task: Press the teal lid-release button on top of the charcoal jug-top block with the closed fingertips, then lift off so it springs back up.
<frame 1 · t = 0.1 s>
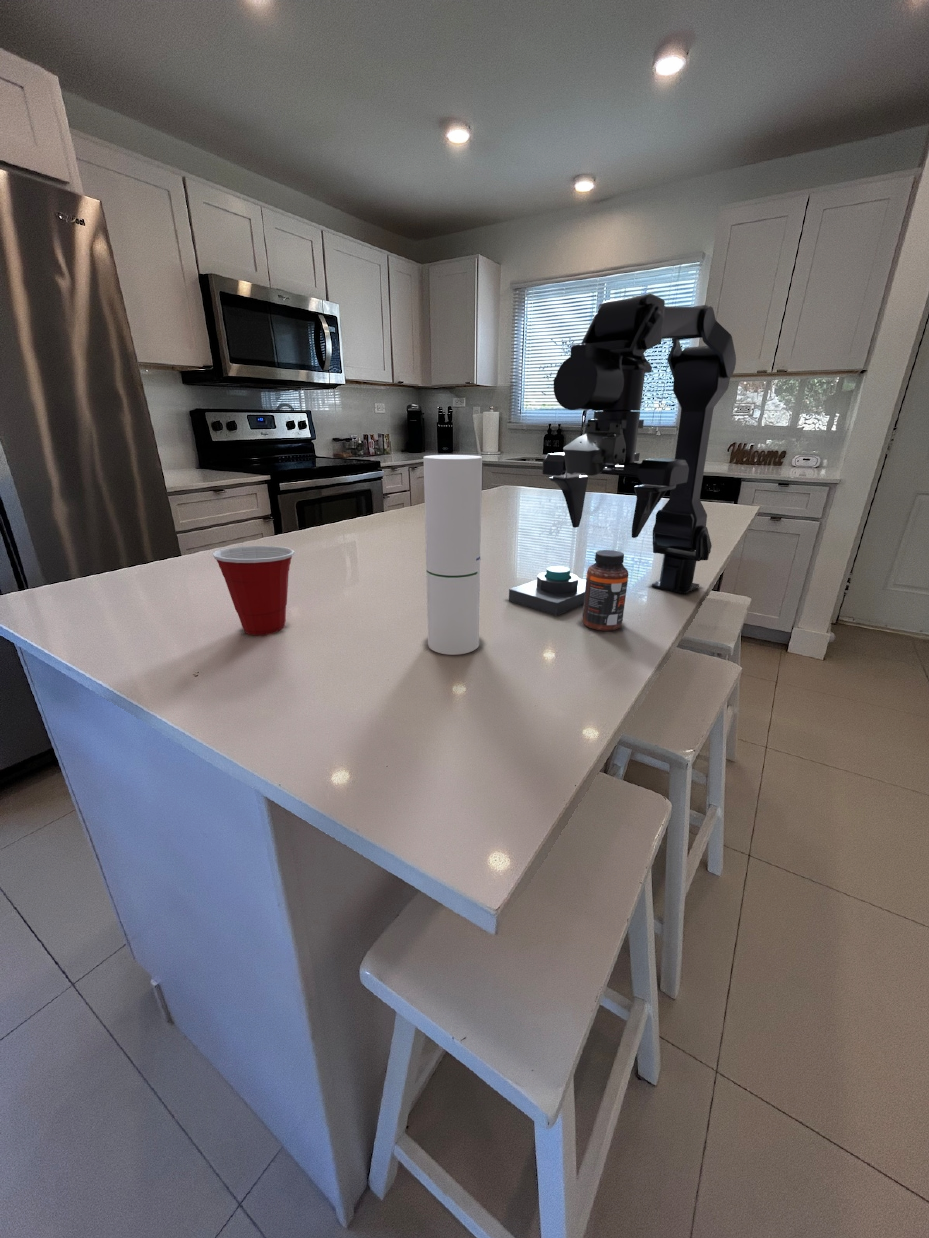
hand: (603, 532, 71), 15 cm above the kitchen island, tool pointing down, fingers open, 9 cm apart
lid button: (558, 573, 87), point 4 cm above the kitchen island, slide at 0.1 cm
supplement bottle: (601, 626, 78), on the kitchen island
cylindrical container: (453, 644, 71), on the kitchen island
plastic cup: (266, 628, 76), on the kitchen island
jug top: (556, 598, 89), on the kitchen island
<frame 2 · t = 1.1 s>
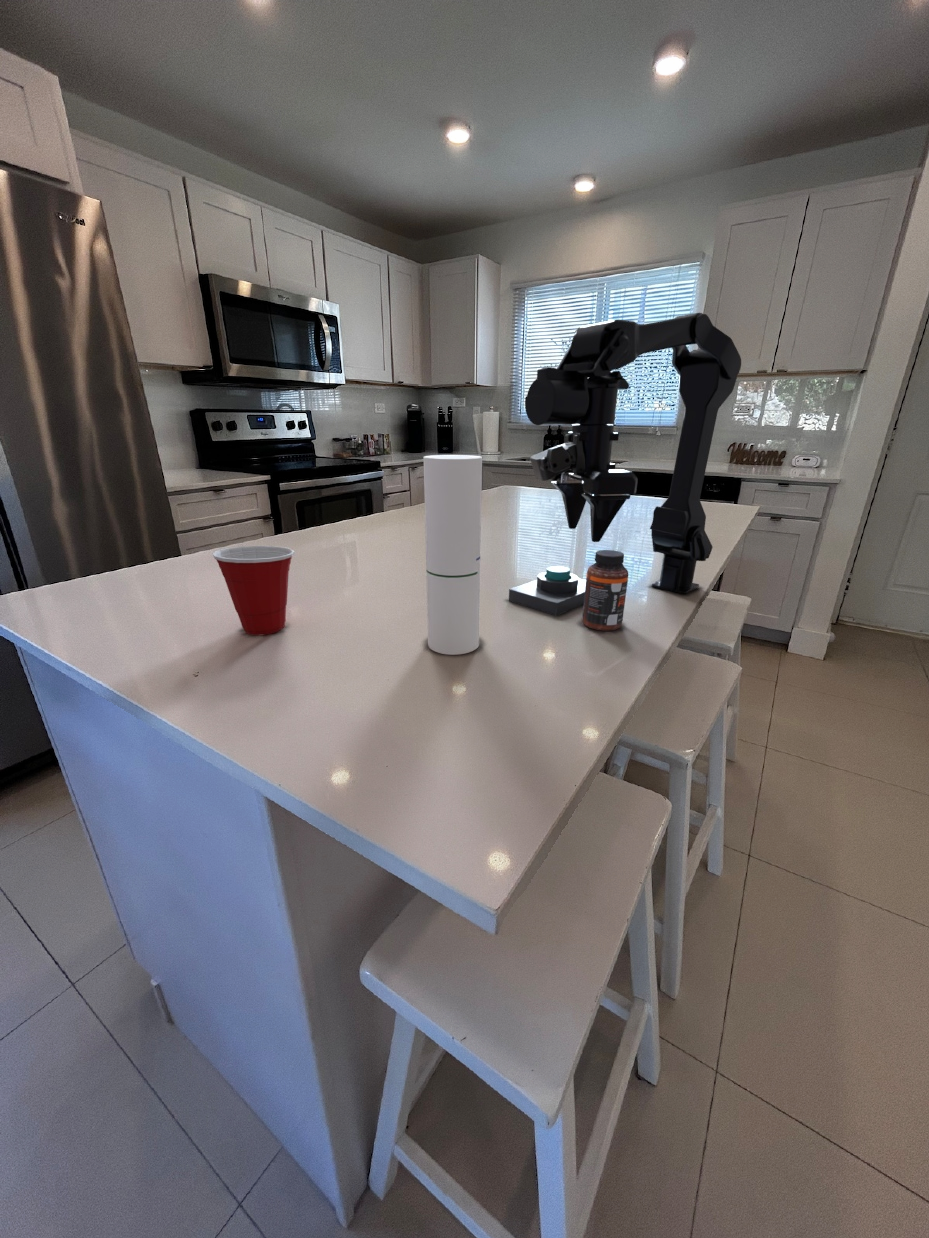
hand: (583, 534, 77), 13 cm above the kitchen island, tool pointing down, fingers open, 9 cm apart
nothing on the kitchen island moved.
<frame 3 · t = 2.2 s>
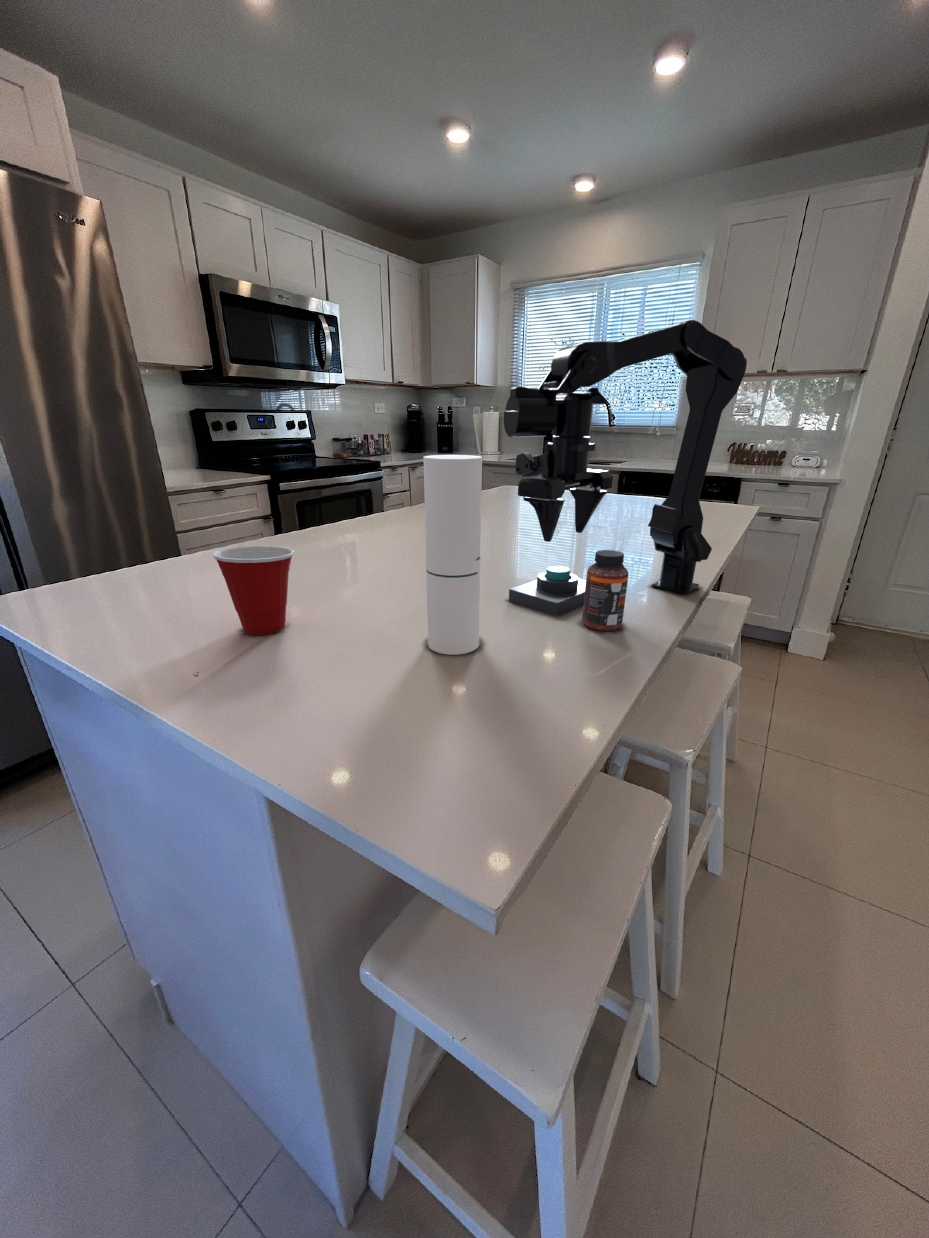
hand: (563, 536, 84), 11 cm above the kitchen island, tool pointing down, fingers open, 9 cm apart
nothing on the kitchen island moved.
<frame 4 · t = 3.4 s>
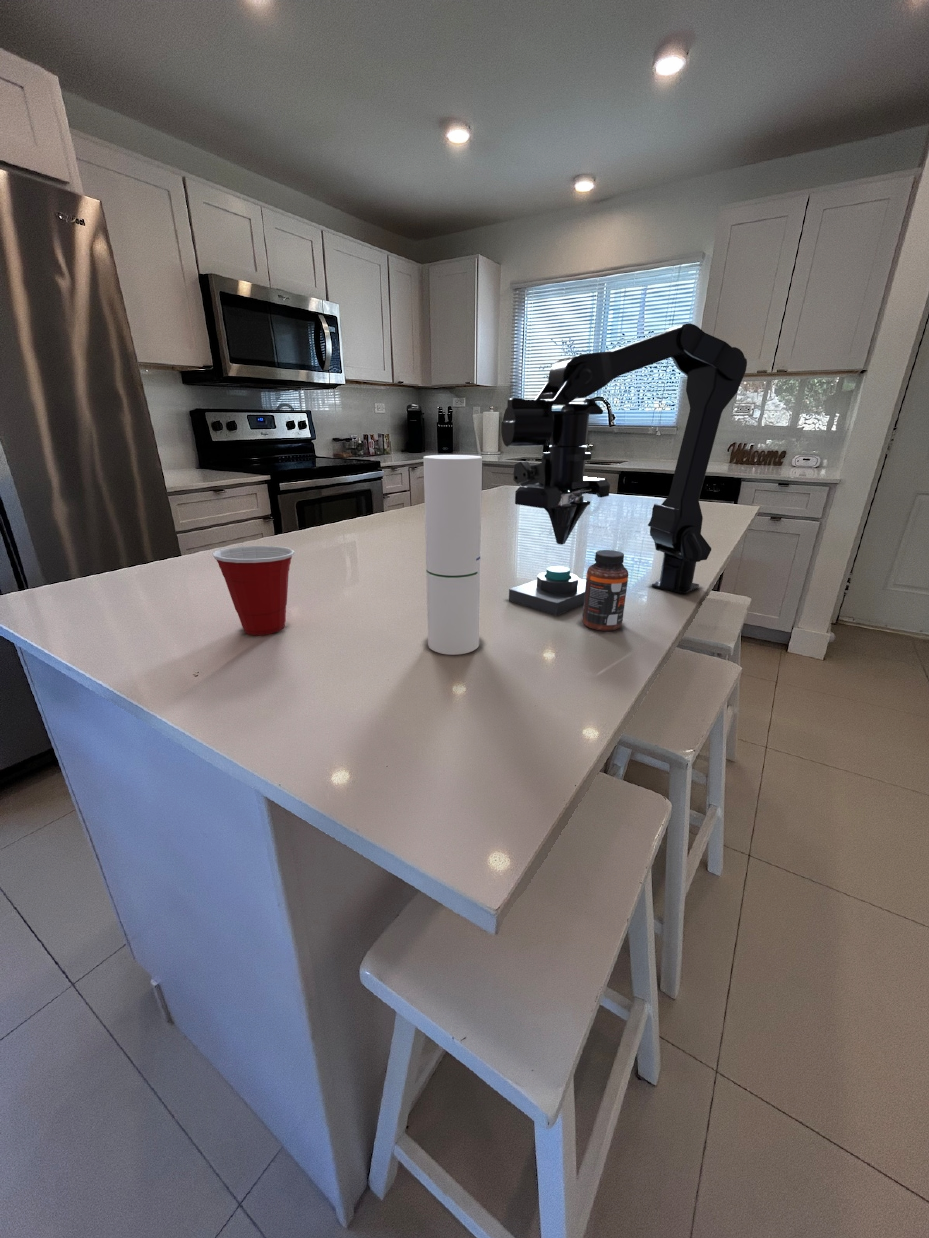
hand: (560, 543, 85), 10 cm above the kitchen island, tool pointing down, fingers closed
nothing on the kitchen island moved.
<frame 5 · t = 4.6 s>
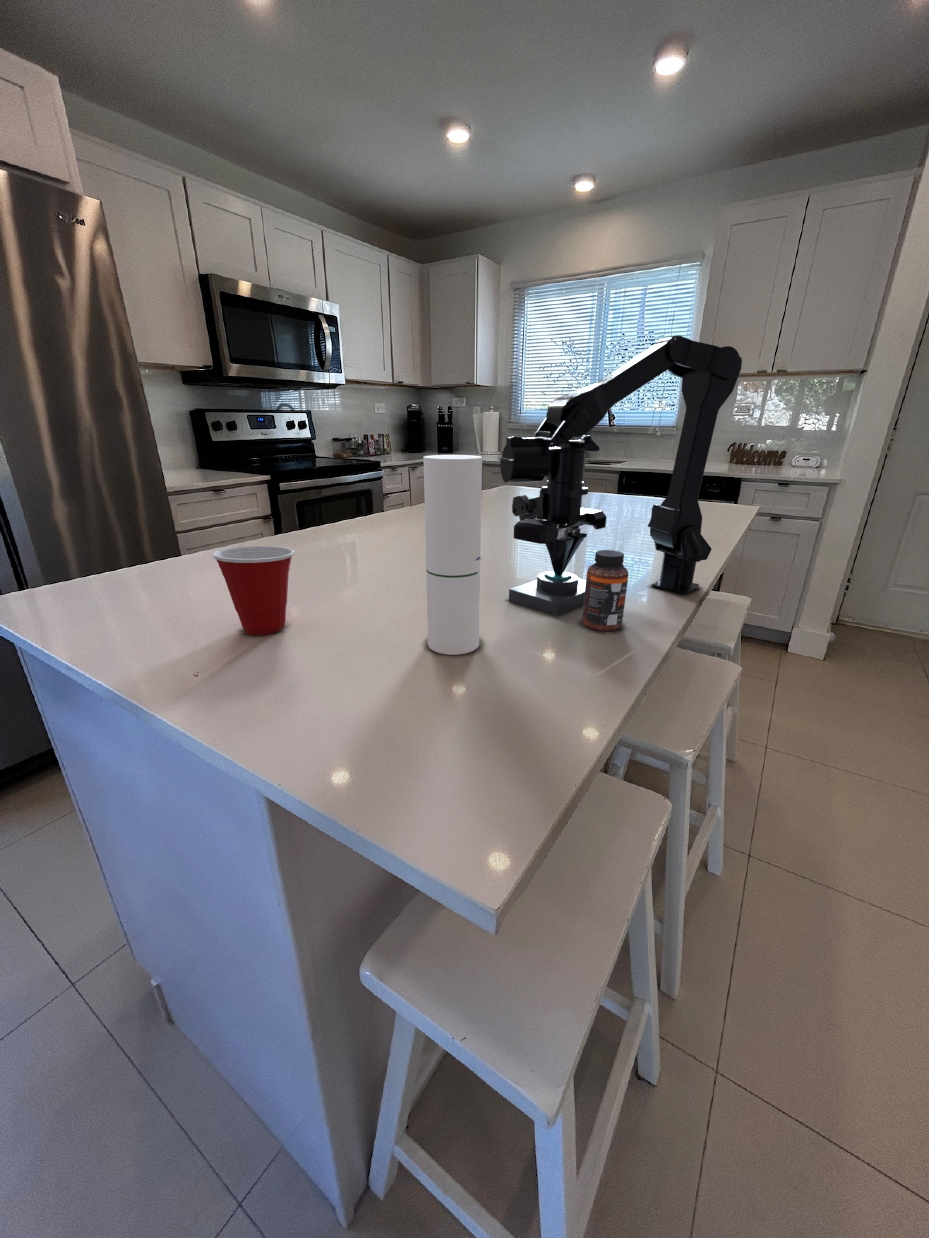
hand: (558, 574, 87), 4 cm above the kitchen island, tool pointing down, fingers closed, pressing on lid button
lid button: (557, 579, 88), point 3 cm above the kitchen island, slide at -0.9 cm, touching gripper
everything else where it was.
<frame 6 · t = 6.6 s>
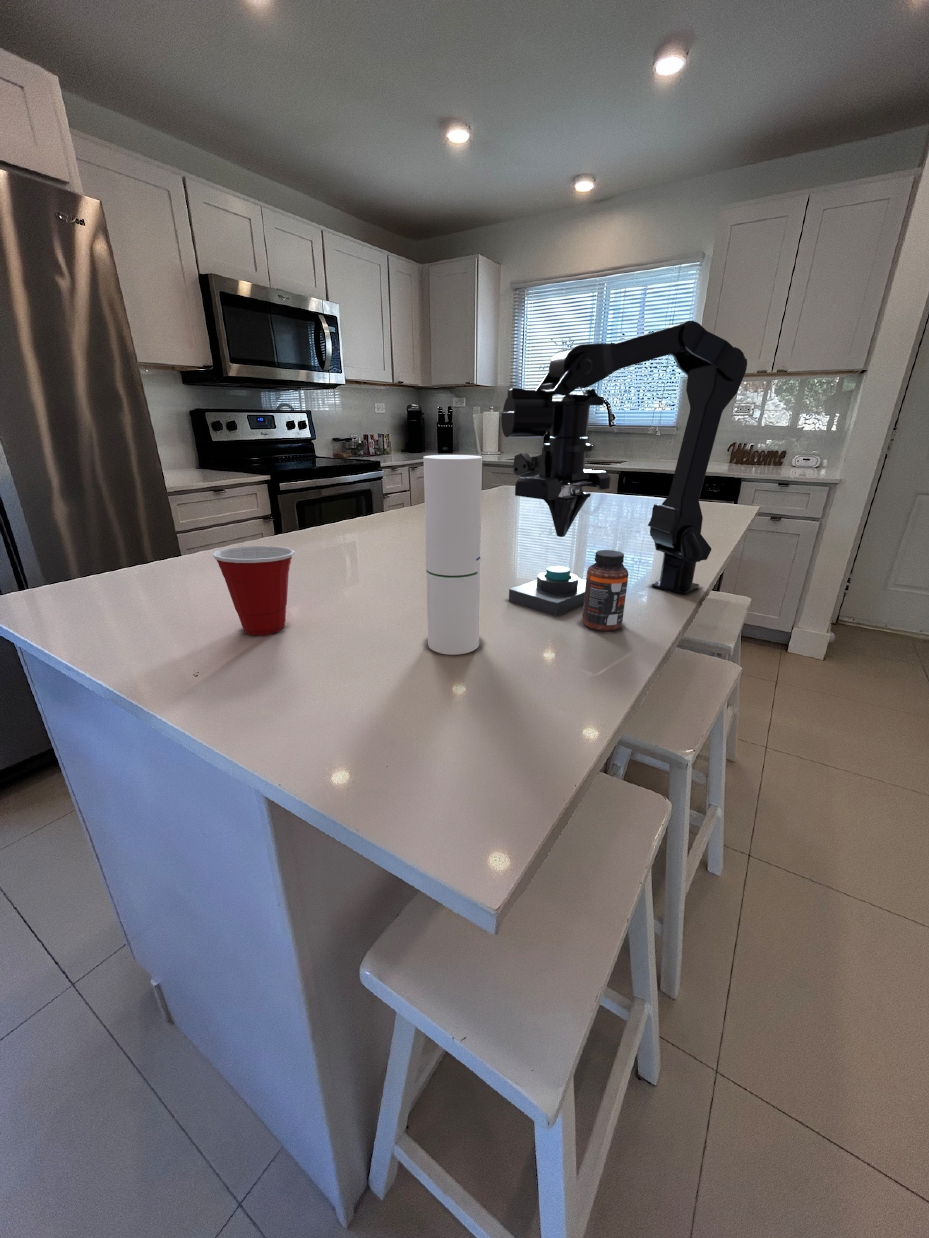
hand: (560, 536, 85), 11 cm above the kitchen island, tool pointing down, fingers closed
lid button: (558, 573, 87), point 4 cm above the kitchen island, slide at 0.1 cm
everything else where it was.
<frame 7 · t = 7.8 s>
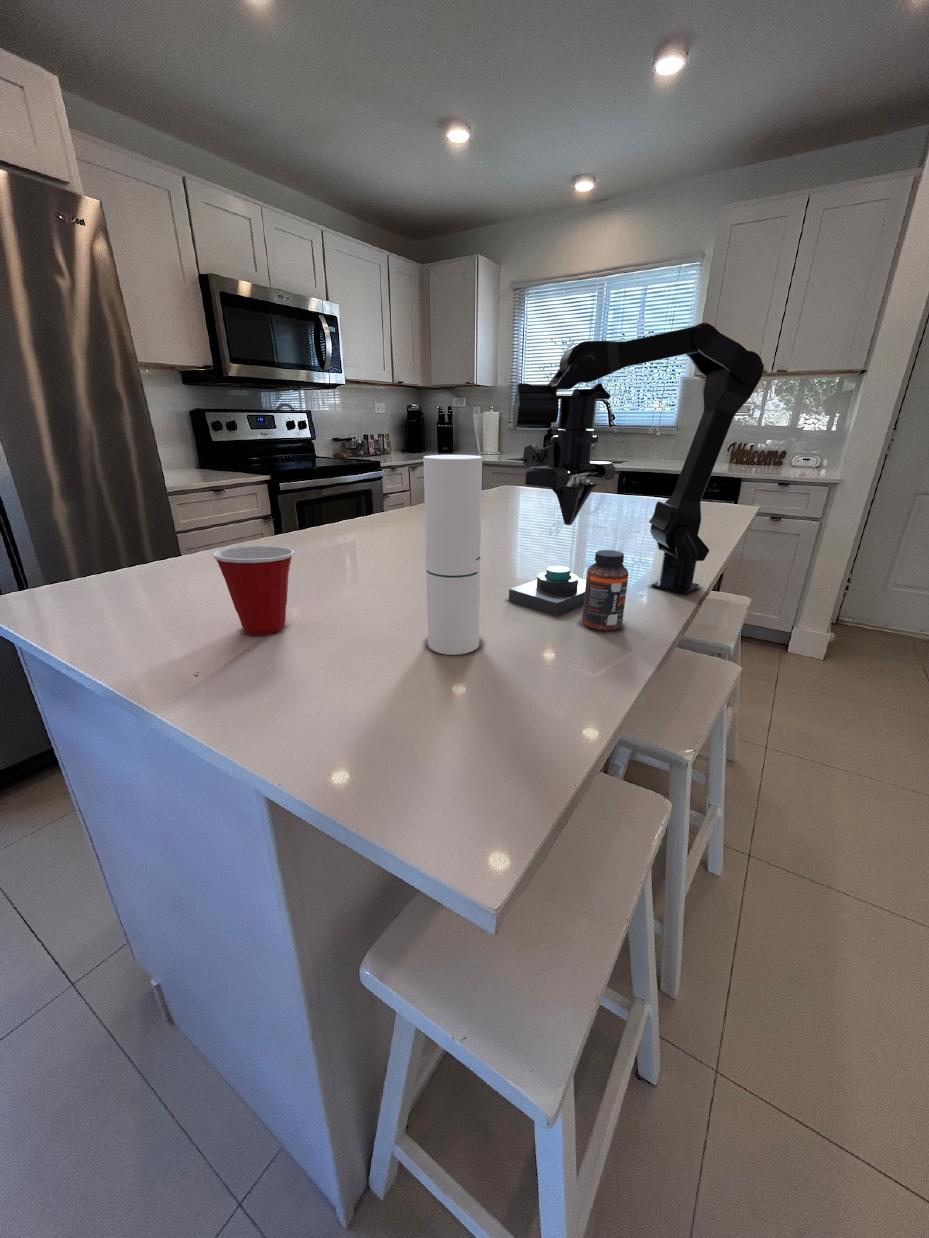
hand: (568, 524, 89), 12 cm above the kitchen island, tool pointing down, fingers closed
nothing on the kitchen island moved.
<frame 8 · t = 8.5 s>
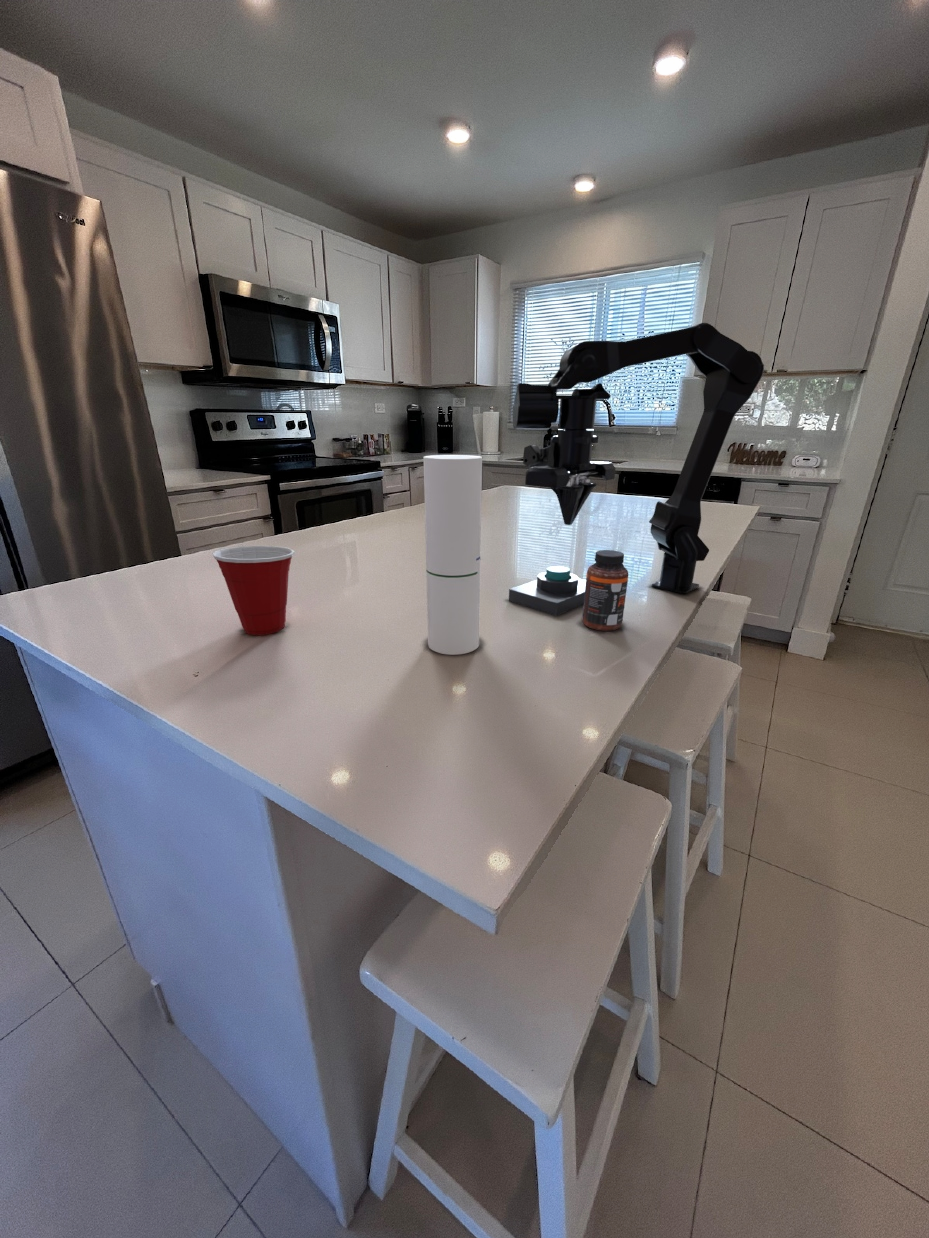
hand: (568, 524, 89), 12 cm above the kitchen island, tool pointing down, fingers closed
nothing on the kitchen island moved.
at the end: lid button pushed in 1.1 cm at the most during the clip, back to where it started at the end; lid button slide at 0.1 cm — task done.
